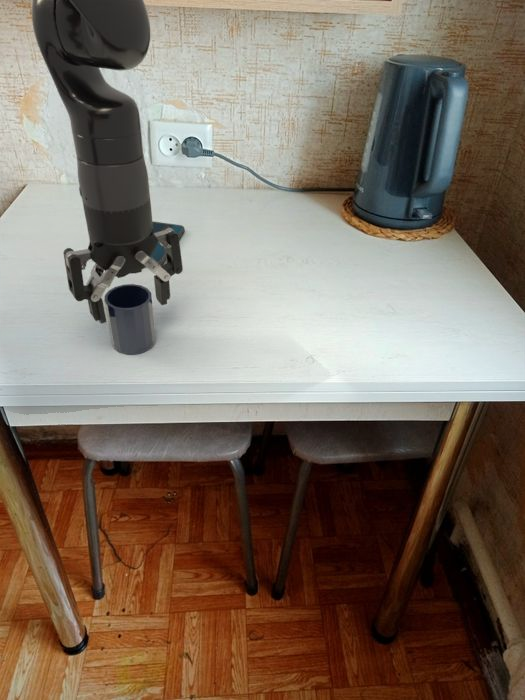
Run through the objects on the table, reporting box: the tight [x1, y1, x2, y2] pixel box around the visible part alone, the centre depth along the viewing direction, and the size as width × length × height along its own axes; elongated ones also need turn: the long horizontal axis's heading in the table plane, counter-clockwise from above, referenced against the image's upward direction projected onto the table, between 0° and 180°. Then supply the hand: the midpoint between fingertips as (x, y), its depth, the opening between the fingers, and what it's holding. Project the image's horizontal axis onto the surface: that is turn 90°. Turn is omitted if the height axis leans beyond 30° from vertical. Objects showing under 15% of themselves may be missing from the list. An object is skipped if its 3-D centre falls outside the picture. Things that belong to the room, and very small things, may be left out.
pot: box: [103, 283, 157, 356], centre depth 69 cm, size 6×6×8 cm
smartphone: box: [151, 220, 185, 266], centre depth 92 cm, size 8×15×1 cm, turn 170°
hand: (132, 310), depth 68 cm, fingers open, 8 cm apart
